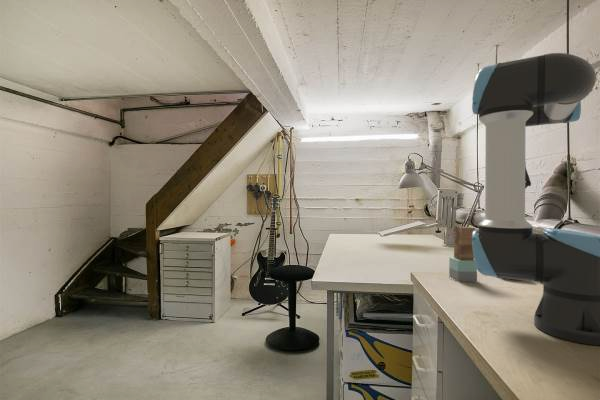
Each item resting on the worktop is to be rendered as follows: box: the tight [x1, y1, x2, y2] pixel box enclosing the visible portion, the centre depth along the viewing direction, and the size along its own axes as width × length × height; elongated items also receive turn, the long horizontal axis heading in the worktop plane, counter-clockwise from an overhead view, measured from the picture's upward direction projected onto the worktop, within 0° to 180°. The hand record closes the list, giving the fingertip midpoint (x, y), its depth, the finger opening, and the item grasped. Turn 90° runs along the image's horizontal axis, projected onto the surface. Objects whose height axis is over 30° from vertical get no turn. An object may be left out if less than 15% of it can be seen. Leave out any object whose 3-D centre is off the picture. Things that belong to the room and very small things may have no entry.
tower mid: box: [448, 256, 478, 273], centre depth 124 cm, size 7×7×4 cm
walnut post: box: [453, 226, 476, 260], centre depth 124 cm, size 5×5×12 cm
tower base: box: [448, 267, 478, 283], centre depth 124 cm, size 7×7×4 cm
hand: (504, 207), depth 121 cm, fingers open, 13 cm apart
